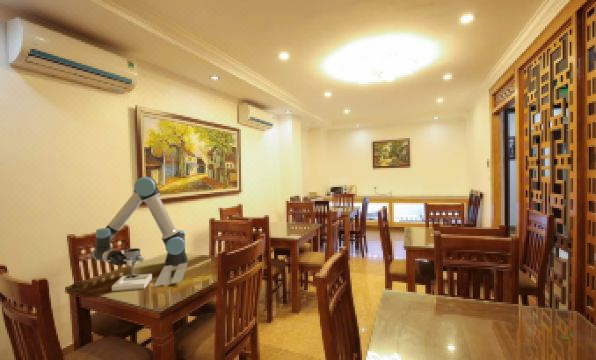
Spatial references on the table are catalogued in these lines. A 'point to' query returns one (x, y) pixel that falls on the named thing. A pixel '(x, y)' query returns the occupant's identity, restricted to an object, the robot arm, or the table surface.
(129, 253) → the silver metal goblet
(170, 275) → the grey display stand
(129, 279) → the tray
